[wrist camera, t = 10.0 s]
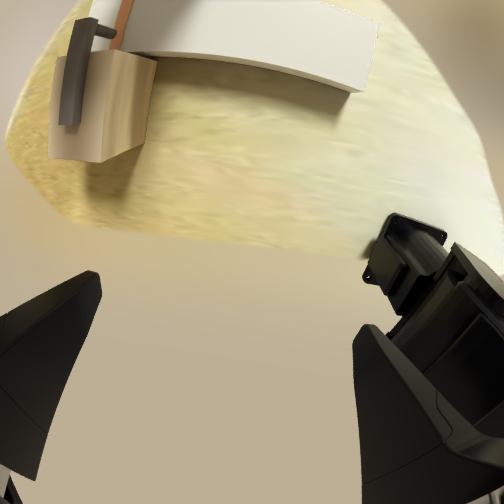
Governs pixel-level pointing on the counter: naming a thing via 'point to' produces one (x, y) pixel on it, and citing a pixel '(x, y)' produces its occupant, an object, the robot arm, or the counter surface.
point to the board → (247, 35)
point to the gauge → (98, 98)
